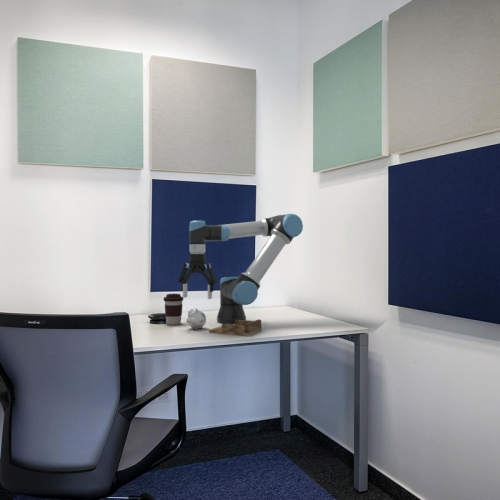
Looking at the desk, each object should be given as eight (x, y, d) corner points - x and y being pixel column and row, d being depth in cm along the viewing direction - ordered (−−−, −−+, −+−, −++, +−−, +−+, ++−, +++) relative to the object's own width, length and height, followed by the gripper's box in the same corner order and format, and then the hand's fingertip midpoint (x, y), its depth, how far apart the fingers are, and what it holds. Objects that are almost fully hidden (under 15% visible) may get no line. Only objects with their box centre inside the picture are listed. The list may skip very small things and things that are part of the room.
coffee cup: (172, 321, 246) (172, 292, 245) (187, 323, 241) (187, 293, 240) (159, 324, 237) (159, 294, 237) (174, 326, 232) (174, 295, 232)
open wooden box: (208, 332, 216) (208, 321, 216) (223, 327, 228) (223, 316, 228) (247, 336, 207) (247, 324, 207) (261, 330, 219) (261, 319, 219)
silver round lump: (185, 327, 228) (185, 307, 228) (204, 326, 230) (204, 306, 230) (187, 331, 219) (187, 309, 219) (207, 330, 221) (207, 308, 221)
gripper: (170, 253, 225) (170, 297, 226) (216, 253, 215) (216, 300, 215) (179, 252, 232) (179, 295, 233) (224, 253, 222) (224, 298, 222)
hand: (197, 298), depth 224 cm, fingers open, 13 cm apart
